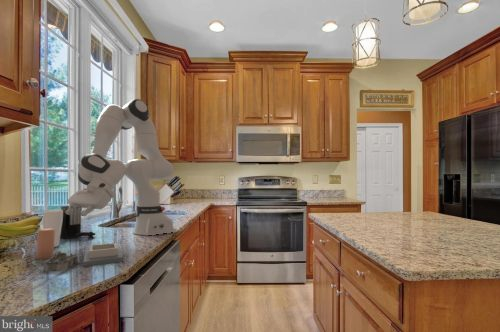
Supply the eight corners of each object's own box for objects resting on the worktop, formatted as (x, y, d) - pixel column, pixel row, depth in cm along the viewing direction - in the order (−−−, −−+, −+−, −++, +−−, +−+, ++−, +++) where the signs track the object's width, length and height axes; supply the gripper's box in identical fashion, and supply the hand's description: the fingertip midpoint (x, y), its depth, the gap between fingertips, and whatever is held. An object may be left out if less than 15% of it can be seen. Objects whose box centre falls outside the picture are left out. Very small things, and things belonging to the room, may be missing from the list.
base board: (119, 250, 109) (120, 240, 109) (122, 261, 95) (123, 250, 95) (85, 253, 103) (85, 243, 103) (83, 266, 89) (83, 254, 89)
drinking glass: (50, 249, 108) (52, 212, 108) (36, 248, 109) (38, 211, 110) (65, 245, 114) (67, 210, 115) (52, 244, 116) (54, 209, 116)
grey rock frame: (58, 261, 94) (59, 250, 94) (81, 261, 95) (82, 250, 95) (38, 272, 84) (38, 259, 84) (63, 272, 84) (64, 258, 85)
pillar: (54, 254, 101) (55, 228, 102) (52, 258, 97) (53, 230, 97) (37, 256, 99) (39, 229, 99) (34, 260, 94) (36, 231, 95)
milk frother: (60, 235, 133) (62, 205, 133) (97, 233, 139) (98, 204, 140) (53, 241, 120) (55, 208, 120) (94, 239, 126) (95, 207, 127)
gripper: (78, 183, 120) (53, 207, 111) (109, 185, 111) (86, 211, 102) (87, 193, 124) (64, 217, 114) (118, 195, 115) (96, 221, 106)
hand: (74, 214), depth 108 cm, fingers open, 8 cm apart
